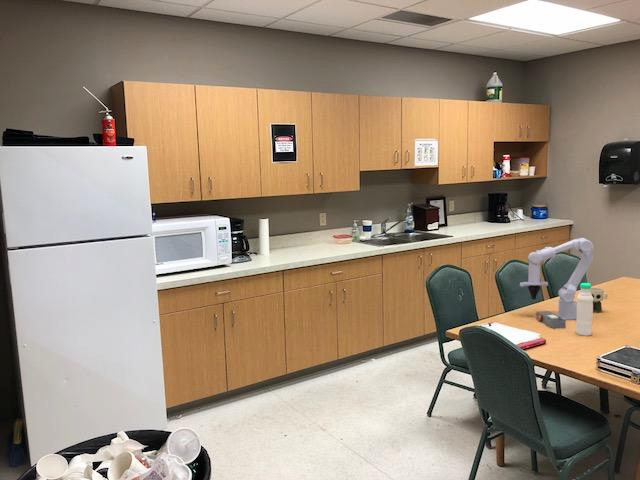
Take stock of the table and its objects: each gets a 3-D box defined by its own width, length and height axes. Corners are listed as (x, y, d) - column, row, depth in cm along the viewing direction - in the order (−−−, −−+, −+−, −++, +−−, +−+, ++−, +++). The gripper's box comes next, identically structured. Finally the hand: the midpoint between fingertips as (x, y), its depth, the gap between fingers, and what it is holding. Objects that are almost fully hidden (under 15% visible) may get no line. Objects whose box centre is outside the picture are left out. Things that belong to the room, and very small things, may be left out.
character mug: (583, 311, 290) (584, 289, 288) (585, 308, 296) (586, 286, 294) (605, 314, 284) (606, 291, 282) (607, 311, 289) (608, 288, 288)
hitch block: (549, 318, 279) (549, 309, 278) (565, 328, 261) (565, 318, 261) (536, 318, 279) (536, 309, 278) (551, 328, 261) (552, 318, 260)
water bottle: (585, 337, 247) (587, 285, 244) (572, 333, 253) (574, 283, 250) (595, 334, 250) (597, 284, 247) (581, 330, 256) (583, 281, 253)
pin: (557, 319, 276) (557, 313, 275) (560, 321, 273) (560, 315, 272) (537, 320, 276) (537, 314, 275) (539, 321, 272) (539, 315, 272)
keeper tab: (553, 314, 268) (547, 315, 268) (558, 317, 263) (551, 317, 263) (553, 316, 268) (547, 316, 268) (558, 318, 263) (551, 319, 263)
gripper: (523, 276, 276) (523, 301, 278) (550, 275, 276) (550, 300, 278) (518, 273, 283) (518, 297, 285) (544, 272, 283) (544, 297, 285)
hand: (533, 298), depth 282 cm, fingers closed
